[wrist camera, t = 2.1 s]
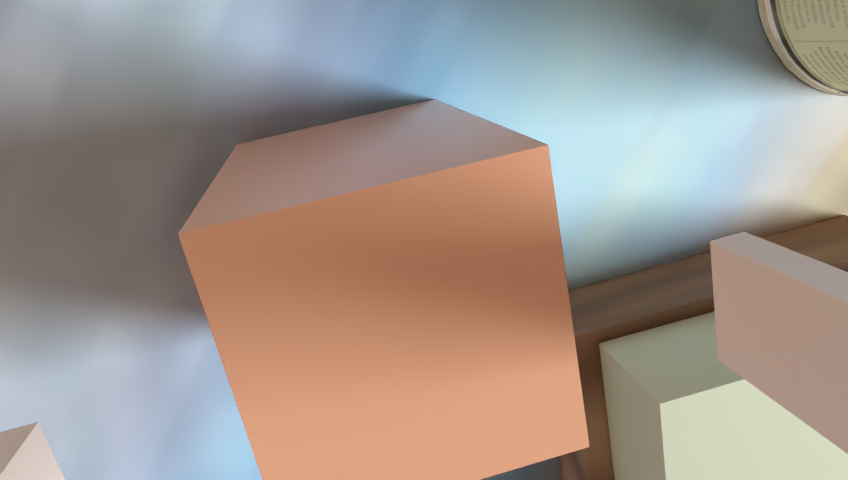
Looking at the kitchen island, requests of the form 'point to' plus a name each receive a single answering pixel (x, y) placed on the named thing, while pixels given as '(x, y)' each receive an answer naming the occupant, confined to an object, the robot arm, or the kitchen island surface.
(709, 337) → the sage block
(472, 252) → the terracotta block
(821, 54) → the coffee can
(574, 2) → the kitchen island surface
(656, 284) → the walnut block
